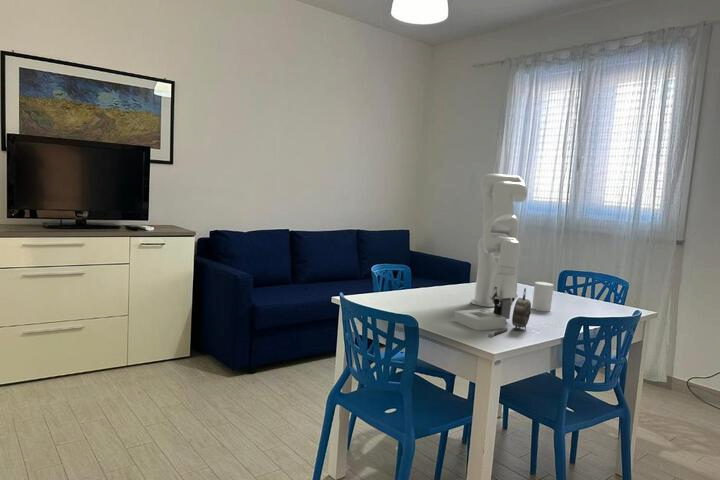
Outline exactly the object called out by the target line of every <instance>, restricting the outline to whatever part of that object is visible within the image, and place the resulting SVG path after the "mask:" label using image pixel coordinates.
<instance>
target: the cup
mask: <svg viewBox="0 0 720 480" xmlns="http://www.w3.org/2000/svg"><path fill="white" fill-rule="evenodd" d="M554 286H555V285H554V284H553V283H550V282H545V281H534V288H533V294H532V295H533V297H532V303H531V309H533V310H535V309H536V310H535V311H539V310H541V311H540V312H550V310H551V309H552V303H553V302H552V301H553V294H554Z"/></svg>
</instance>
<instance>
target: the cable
mask: <svg viewBox="0 0 720 480" xmlns="http://www.w3.org/2000/svg"><path fill="white" fill-rule="evenodd" d="M508 330H509V328H508V327H505V328H501V329H500V330H497V331H495V332H493V331H492V332H488V334H487V337H489V338H494V337H495V336H497V335H499V334H502V333H504V332H507V331H508Z"/></svg>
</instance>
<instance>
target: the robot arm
mask: <svg viewBox="0 0 720 480" xmlns="http://www.w3.org/2000/svg"><path fill="white" fill-rule="evenodd" d="M480 192H481V196H482V200H483V201H482V202H483V210H482V211H483V212H482V230H483V232H482V237H480V238H479V240H478V242H477V251H478V255H477V257H478V259H477V272H476V283H475V293H474V298H472V299H470V303H471V304H473V305H476V306H479V307H486V308H488V307H489V308H493V313H494V314H496V315H499V316H500V314H501V306H500V305H501V302H502V299H511V300H512V302H511V306H513V304H514V302H515V300H516V299H518V298H519V297H518V294H517V291H518V275H517V271H518V263H519V255H520V247H521V246H520V245H521V244H520V243H521V242H519V220H518V217H517V216H516V215H515V209H514V203H523V202H525V201H526V200H527V197H528V188H527V185H526V183H525V182H524V180H523V178H522V177H521V176H519V175H515V174H514V175H513V174H503V173H502V174H501V173H486V174H484V175H483V176H482V177H481V180H480ZM492 234H493V235H492ZM494 234H495V235H494ZM499 235H504V236H499ZM497 258H498V261H496V260H495V259H497ZM497 262H498V263H497ZM498 299H499V301H498ZM494 306H495V307H494Z"/></svg>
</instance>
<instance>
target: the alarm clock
mask: <svg viewBox="0 0 720 480" xmlns="http://www.w3.org/2000/svg"><path fill="white" fill-rule="evenodd" d="M526 292H527V288H526V287H524V288H523V293H524V294H523V295H522V297H517V298H516V299H517V300H516V301H515V304H514V307H513V313H512V319H511V323H512V325H513V327H514V326H515V327H514V332H516V331H517V329H518V328H524V329H525V330H527V328H526V327H527V325H528V323H529V319H530V316H531V314H532V312H531V310H532V303H531V300H529V299H527V298H526V295H527V293H526Z"/></svg>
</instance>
